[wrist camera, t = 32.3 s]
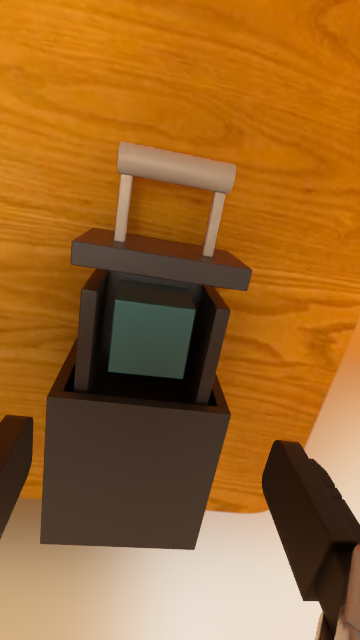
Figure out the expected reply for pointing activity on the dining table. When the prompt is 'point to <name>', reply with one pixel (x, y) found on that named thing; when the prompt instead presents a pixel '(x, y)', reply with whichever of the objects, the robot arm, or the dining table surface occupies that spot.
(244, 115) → the dining table surface
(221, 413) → the cabinet
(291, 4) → the dining table surface
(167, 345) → the block
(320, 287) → the dining table surface
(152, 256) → the drawer
